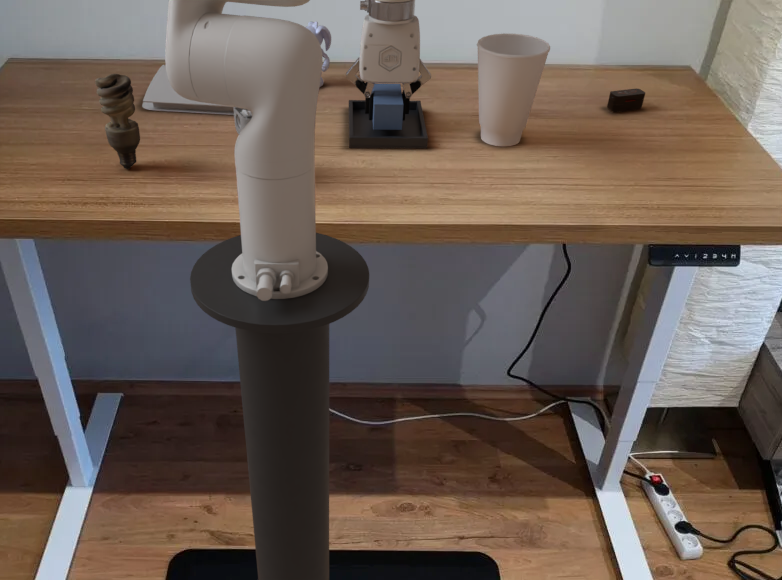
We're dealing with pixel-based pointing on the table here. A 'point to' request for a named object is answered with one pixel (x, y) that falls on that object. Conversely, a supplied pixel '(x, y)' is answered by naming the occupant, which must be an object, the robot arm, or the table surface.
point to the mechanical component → (241, 118)
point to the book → (176, 98)
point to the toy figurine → (320, 34)
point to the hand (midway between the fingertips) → (386, 116)
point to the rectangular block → (387, 107)
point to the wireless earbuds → (625, 100)
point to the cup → (508, 84)
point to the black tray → (366, 137)
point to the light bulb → (119, 116)
